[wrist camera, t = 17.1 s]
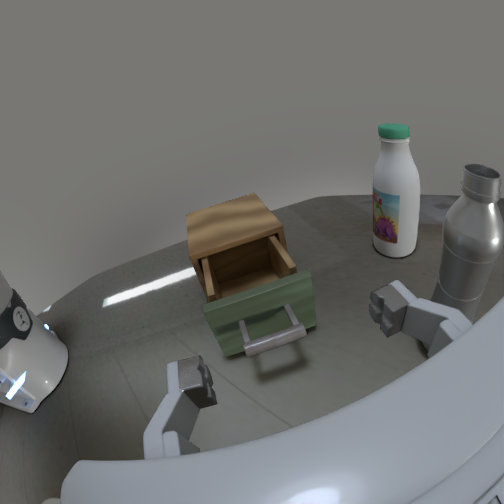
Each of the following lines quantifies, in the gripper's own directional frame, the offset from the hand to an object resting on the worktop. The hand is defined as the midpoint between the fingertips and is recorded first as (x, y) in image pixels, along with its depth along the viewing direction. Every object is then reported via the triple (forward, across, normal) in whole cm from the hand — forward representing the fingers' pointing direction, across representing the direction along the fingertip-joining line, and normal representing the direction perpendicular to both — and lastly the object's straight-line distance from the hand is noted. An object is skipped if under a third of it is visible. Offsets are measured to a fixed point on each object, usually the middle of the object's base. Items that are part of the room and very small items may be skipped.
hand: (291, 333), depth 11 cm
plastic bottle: (+3, -18, +17) cm, 25 cm away
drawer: (+17, 0, +16) cm, 23 cm away
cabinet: (+30, 0, +17) cm, 34 cm away
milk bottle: (+22, -25, +17) cm, 38 cm away
